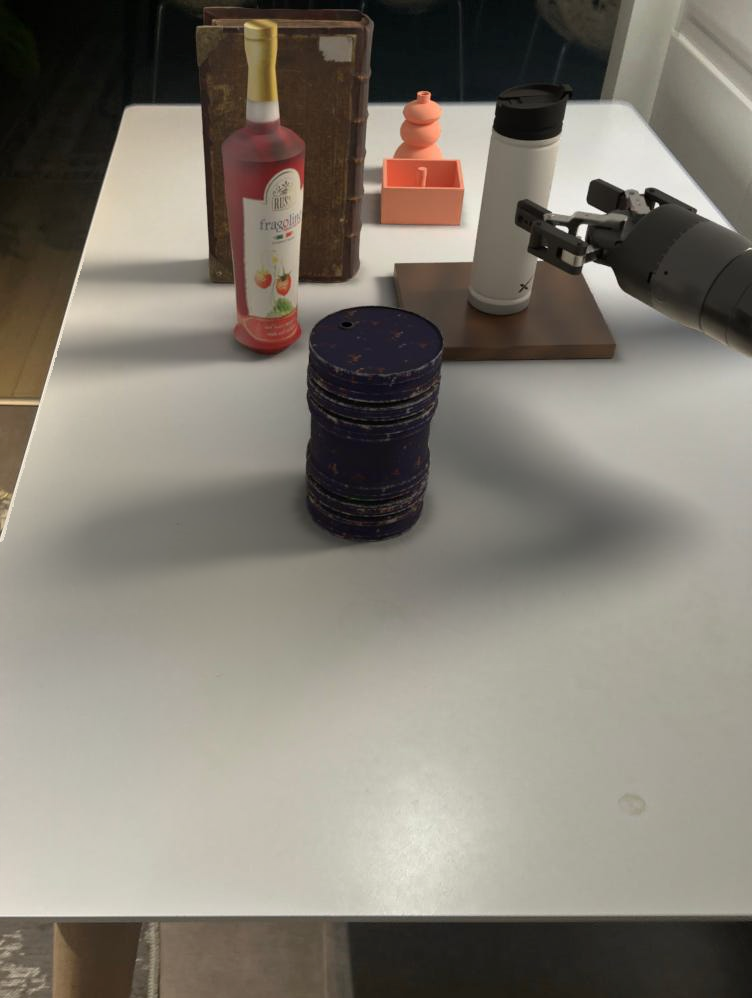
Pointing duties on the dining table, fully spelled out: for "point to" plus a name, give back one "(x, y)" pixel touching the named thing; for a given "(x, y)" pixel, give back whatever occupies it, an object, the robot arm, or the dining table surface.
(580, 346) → the walnut board
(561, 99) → the travel mug
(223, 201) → the book
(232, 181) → the liquor
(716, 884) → the dining table surface
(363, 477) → the dark blue cylinder
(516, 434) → the dining table surface
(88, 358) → the dining table surface
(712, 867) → the dining table surface
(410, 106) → the pottery
